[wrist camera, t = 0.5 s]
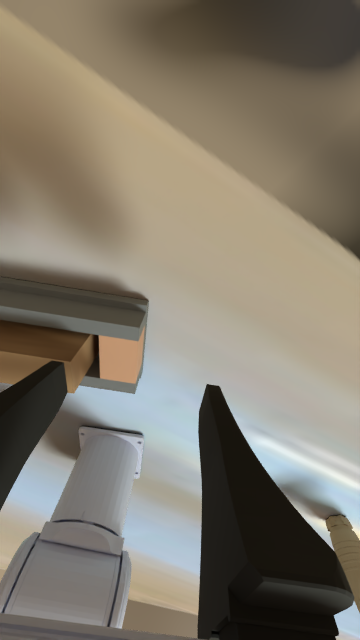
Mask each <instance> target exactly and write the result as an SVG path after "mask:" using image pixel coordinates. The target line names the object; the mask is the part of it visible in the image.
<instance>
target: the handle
mask: <svg viewBox="0 0 360 640" xmlns="http://www.w3.org/2000/svg"><path fill="white" fill-rule="evenodd" d="M326 526H327V529H328V531H330V532H331V533H330V537H331V541H332V545H333V548H334V551H335V553H336V555H337V557H338V559H339V561H340V563H341V565H342V568H343V570H344V572H345V575H346V577H347V579H348V582H349V585H350V587H351V590H352V592H353V595H354V601H355V603H356V605H357V608H358V610H359V612H360V540H359V538H358V537H357V535H356V534H355V532H354V531H352V529H353V527H352V525H351V524H350V522H349V520H348V519H347V518H345V517H343V516H342V515H338V516H329V518H328V519H327V520H326Z"/></svg>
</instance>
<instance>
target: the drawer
mask: <svg viewBox="0 0 360 640" xmlns="http://www.w3.org/2000/svg"><path fill="white" fill-rule="evenodd" d="M98 353H99V336H98V335H95V334H88V333H82V332H76V331H69V330H63V329H57V328H50V327H44V326H37V325H31V324H25V323H18V322H12V321H6V320H0V382H2V383H8V384H16V383H17V382H19V381H20V380H22V379H24V378H25V377H27V376H28V375H30V374H31V373H33V372H34V371H36V370H37V369H39V368H41V367H42V366H44V365H45V364H47V363H48V362H50V361H52V360H53V361H59V362H64V366H65V374H66V382H67V390H68V393H75V391H76V389H77V388H78V386H79V384H80V383H81V381H82V379H83V378H84V376H85V374H86V373H87V371H88V369H89V368H90V366H91V364H92V363H93V361H94V359H95V358H96V356H97V354H98Z"/></svg>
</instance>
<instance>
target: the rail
mask: <svg viewBox="0 0 360 640" xmlns="http://www.w3.org/2000/svg"><path fill="white" fill-rule="evenodd" d="M148 304H149V301H148V300H142V299H136V298H130V297H123V296H117V295H111V294H105V293H99V292H92V291H86V290H80V289H74V288H68V287H61V286H55V285H49V284H43V283H37V282H30V281H24V280H18V279H12V278H6V277H0V320H6V321H12V322H18V323H25V324H31V325H37V326H44V327H50V328H57V329H63V330H69V331H76V332H82V333H88V334H95V335H98V336H99V353H98V354H97V356H96V358H95V359H94V361H93V363H92V364H91V366H90V368H89V369H88V371H87V373H86V374H85V376H84V378H83V379H82V381H81V383H80V384H79V385H80V386H87V387H93V388H100V389H107V390H113V391H120V392H126V393H133V394H135V391H136V388H137V385H138V381H139V378H141V375H142V370H143V359H144V348H145V337H146V326H147V315H148Z"/></svg>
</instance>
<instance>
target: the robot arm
mask: <svg viewBox="0 0 360 640" xmlns="http://www.w3.org/2000/svg"><path fill="white" fill-rule="evenodd" d="M67 392H68V390H67V382H66V374H65V366H64V362H59V361H53V360H52V361H50V362H48V363H47V364H45V365H44V366H42V367H41V368H39V369H37V370H36V371H34V372H33V373H31V374H30V375H28V376H27V377H25V378H24V379H22V380H20V381H19V382H17V383H16V384H14V385H12V386H11V387H9V388H8V389H6V390H4V391H3V392H1V393H0V510H1V508H2V506H3V504H4V502H5V500H6V498H7V496H8V494H9V492H10V490H11V488H12V486H13V485H14V483H15V481H16V479H17V477H18V475H19V473H20V471H21V470H22V468H23V466H24V464H25V462H26V461H27V459H28V457H29V456H30V454H31V453H32V451H33V450H34V448H35V446H36V445H37V443H38V442H39V440H40V439H41V437H42V436H43V434H44V433H45V431H46V430H47V428H48V426H49V425H50V423H51V422H52V420H53V419H54V417H55V416H56V414H57V412H58V411H59V409H60V407H61V405H62V403H63V401H64V399H65V396H66V394H67ZM78 432H79V441H80V450H81V452H80V454H79V456H78V459H77V461H76V463H75V465H74V468H73V470H72V472H71V474H70V477H69V479H68V481H67V483H66V486H65V488H64V490H63V492H62V495H61V497H60V499H59V501H58V504H57V506H56V508H55V510H54V513H53V515H52V517H51V520H50V522H46V523H45V525H44V527H43V529H42V532H41V534H40V533H38V532H34V533H33V534H32V535H31V536H29V537H28V538H27V539H25V540H24V541H23V542H22V544H21V545H20V547H19V548H18V550H17V551H16V553H15V555H14V557H13V559H12V560H11V562H10V564H9V566H8V568H7V570H6V572H5V574H4V576H3V578H2V580H1V582H0V640H336V638H335V636H338V635H339V631H338V628H337V625H336V622H335V619H334V616H333V615H335V614H337V613H339V612H341V611H343V610H345V609H347V608H349V607H350V606H352V604H353V601H354V595H353V592H352V590H351V587H350V585H349V582H348V579H347V577H346V575H345V572H344V570H343V568H342V565H341V563H340V561H339V559H338V557H337V555H336V553H335V552H334V551H333V549H332V548H331V547H330V546H329V545H328V544H327V543H326V542H325V541H324V540H323V539H322V538H321V537H320V536H319V535H318V533H317V532H316V531H315V530H314V529H313V528H312V527H311V526H310V525H309V524H308V523H307V522H306V520H305V519H304V518H303V517H302V516H301V515H300V513H299V512H298V511H297V510H296V509H295V508H294V506H293V505H292V504H291V503H290V501H289V500H288V499H287V498H286V496H285V495H284V494H283V493H282V491H281V490H280V489H279V488H278V486H277V485H276V484H275V482H274V481H273V480H272V478H271V477H270V476H269V474H268V473H267V471H266V470H265V469H264V467H263V466H262V464H261V463H260V461H259V460H258V458H257V457H256V455H255V454H254V452H253V451H252V449H251V448H250V446H249V444H248V443H247V441H246V439H245V437H244V436H243V434H242V432H241V430H240V429H239V427H238V425H237V423H236V421H235V419H234V417H233V415H232V413H231V411H230V409H229V407H228V405H227V403H226V400H225V398H224V396H223V393H222V391H221V388H220V387H219V386H215V385H209V384H207V385H206V389H205V393H204V396H203V400H202V403H201V407H200V410H199V430H198V433H199V448H200V462H201V476H202V531H201V565H200V590H199V612H198V639H197V638H188V637H181V636H173V635H166V634H158V633H150V632H143V631H135V630H127V629H122V624H123V619H124V615H125V610H126V605H127V600H128V594H129V587H130V579H131V560H130V558H129V554H128V552H127V551H122V548H123V543H124V538H122V537H121V536H122V532H123V527H124V522H125V518H126V513H127V509H128V504H129V499H130V495H131V490H132V485H133V481H134V478H135V479H138V478H139V477H140V470H141V461H142V453H143V444H144V437H143V436H142V435H138V434H131V433H124V432H117V431H111V430H104V429H97V428H91V427H84V426H82V427H80V428H79V430H78Z"/></svg>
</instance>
